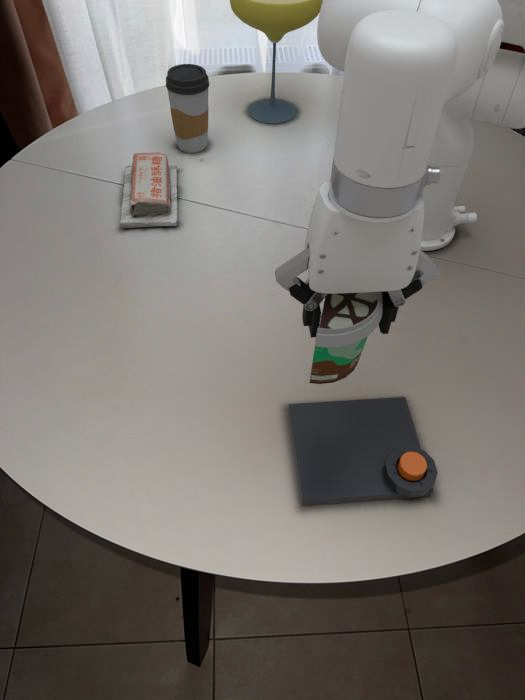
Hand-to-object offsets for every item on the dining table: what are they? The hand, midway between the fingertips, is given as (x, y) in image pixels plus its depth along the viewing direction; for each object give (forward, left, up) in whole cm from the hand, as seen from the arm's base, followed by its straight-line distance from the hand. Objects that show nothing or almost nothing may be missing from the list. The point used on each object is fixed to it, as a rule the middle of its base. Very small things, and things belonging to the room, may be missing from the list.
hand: (347, 325), depth 62 cm
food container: (0, 0, -5) cm, 5 cm away
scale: (-3, +4, -20) cm, 21 cm away
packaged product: (+25, -52, -20) cm, 61 cm away
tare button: (-9, +8, -17) cm, 21 cm away
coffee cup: (+17, -70, -20) cm, 75 cm away
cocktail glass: (-1, -83, -20) cm, 85 cm away
